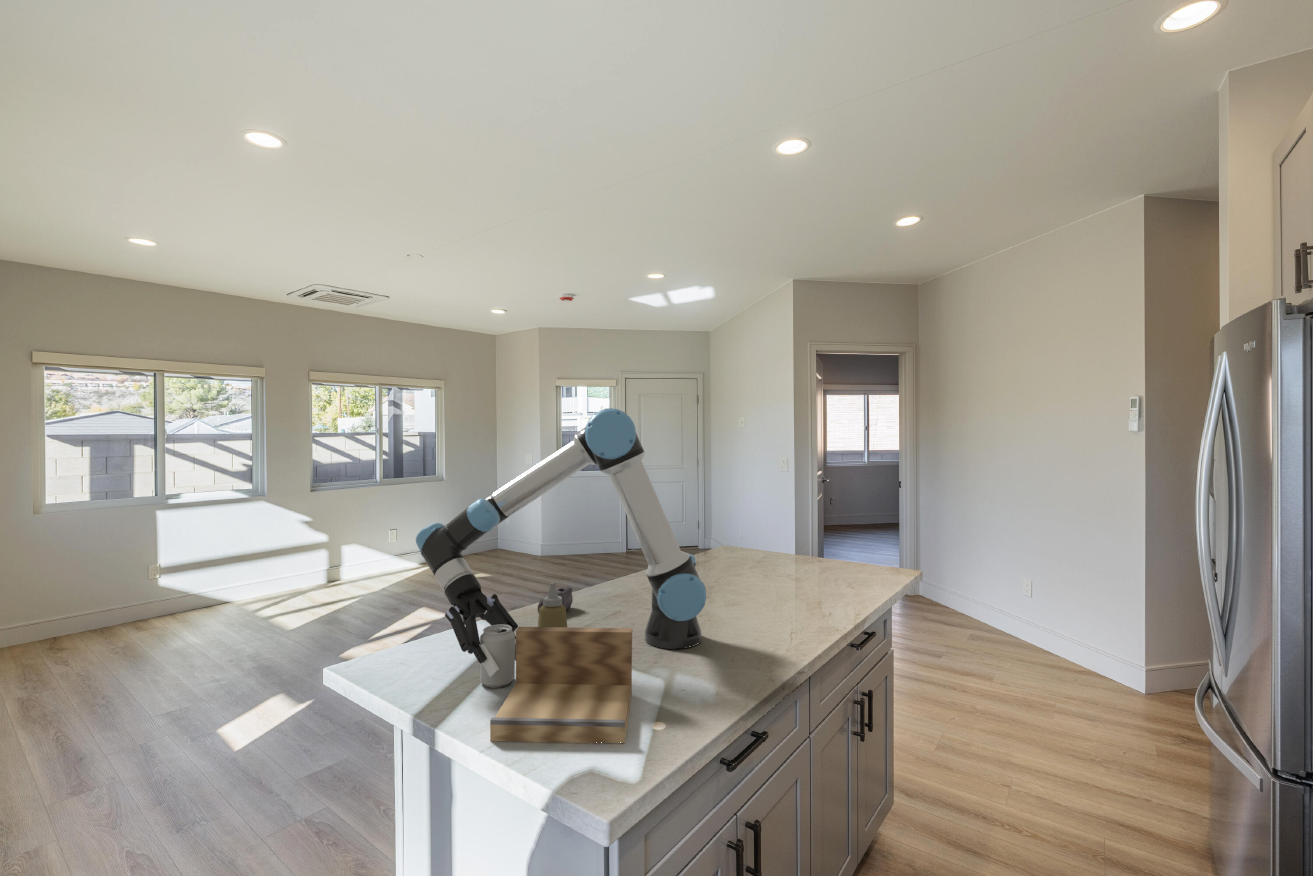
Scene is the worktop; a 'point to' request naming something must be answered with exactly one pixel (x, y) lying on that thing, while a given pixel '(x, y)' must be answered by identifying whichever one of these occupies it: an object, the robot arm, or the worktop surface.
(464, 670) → the worktop surface
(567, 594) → the perforated stone tool
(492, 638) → the can
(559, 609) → the squeeze bottle
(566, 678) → the wooden l-shaped piece
